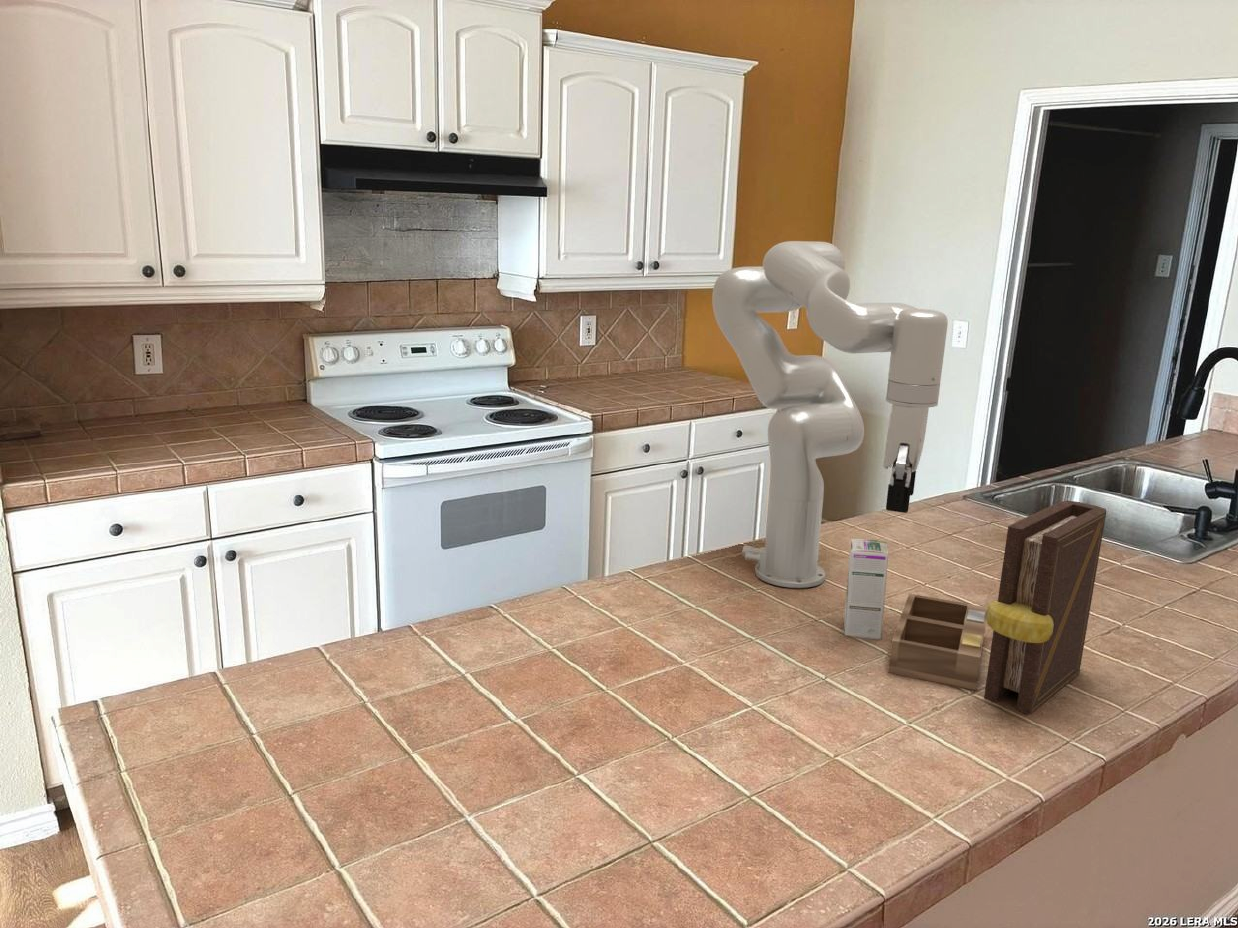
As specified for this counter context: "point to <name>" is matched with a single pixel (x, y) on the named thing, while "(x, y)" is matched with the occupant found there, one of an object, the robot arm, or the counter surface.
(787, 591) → the counter surface
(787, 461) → the robot arm
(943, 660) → the socket block
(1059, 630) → the book
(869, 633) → the syrup box
